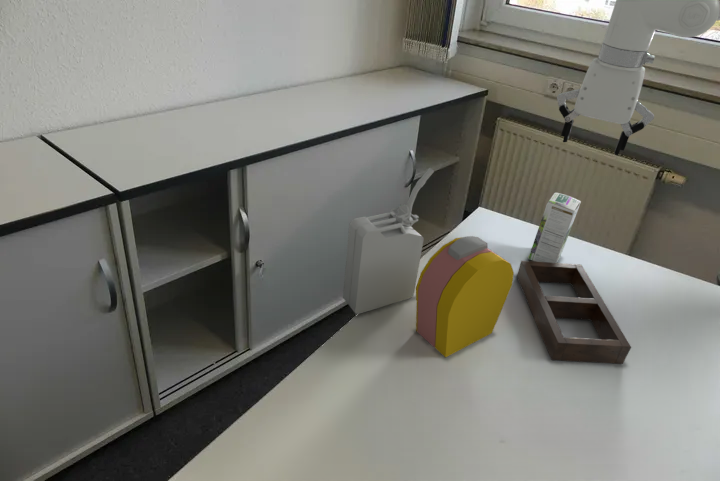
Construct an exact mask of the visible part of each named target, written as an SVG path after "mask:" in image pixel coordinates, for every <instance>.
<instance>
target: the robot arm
mask: <svg viewBox="0 0 720 481" xmlns="http://www.w3.org/2000/svg"><path fill="white" fill-rule="evenodd" d="M717 21H720V0H615V3H614V6H613V9H612V12H611V15H610V18H609V21H608V25H607V27H606V31H605V34H604V38H603V39H602V44H601V46H600V49H599V53H598V56H597V57H595V58H592V61H590V64H589V66H588V68H587V71H586V73H585V75H584V78H583V80H582V83H581V84H580V85H581V86H580V88H577V89H573V90H569V91H565V92H560V93H559V94H558V95H557V96H556V102H557V106H558V111H559V113H560V114H561V116H562V118H563V121H564V124H563V128H562V131H561V134H560V136H561V137H563V140H562V143H567V142H568V140H569V138H570V136H571V131H572V128H573V125H574V122H575V120H574V119H576V118H578V117H579V116H583V117H586V118H591V119H595V120H599V121H603V122H608V123H612V124H618V125H620V127H621V128H622V131H621V133H620V134H619V138H618V141H617V143H616V146H615V149H614V153H613V154H614V155H615V156H619V154H620V151H625V149H626V146H627V144H628V141H629V139H630V137H631V136H632V135H633V134H636V133H637V132H640V131H642V130H643V129H644V128H645V127H646V126H648V125H649V124H650V123H651V122H652V121H653V120H654V118H655V114H654V113H653V112H652V111H651V110H649V108H647V107H646V106H645V105H643V104H642V103H641V102H640V101H639V98H640V94H641V91H642V87H643V84H644V80H645V75H646V74H645V73H646V68H645V67H644V65H645V64H653V63H654V61H655V57H656V55H652V54H651V53H649V51H648V50H649V49H650V46H651V43H652V40H653V38H654V35H655V32H656V31H658V32H662V33H666V34H669V35H672V36H674V37H675V36H676V37H679V38H695V37H697V36H700V35H703V34H705V33H706V32H708V31H710V29H711V28H712V27H713V26H714V25H715V24H716V23H717ZM571 99H576V100H575V104H574V108H573V109H571V110H570V109H569V107H568V105H567V102H566V101H568V100H571ZM635 111H636V112H637V113H638V114H639V115H640V116H642V118H641V120H639V121H637V122H634V123H633V124H632V122H631V119H632V117H633V114H634V112H635Z"/></svg>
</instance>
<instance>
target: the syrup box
mask: <svg viewBox="0 0 720 481" xmlns="http://www.w3.org/2000/svg"><path fill="white" fill-rule="evenodd" d="M581 203H582V201H581V200H580V199H577V198H575V197H573V196H570V195H568V194H563V193H559V192H554V193H553V194H552V196H551V197H550V198H549V200H548V201H547V203H546V205H545V209H544V212H543V214H542V217H541V219H540V223H539V225H538V228H537V231H536V234H535V238H534V240H533V243H532V246H531V249H530V252H529V255H528V257H527V258H528V261H534V262H550V263H559V260H560V259H561V257H562V253H563V251H564V248H565V246H566V243H567V240H568V238H569V235H570V232H571V230H572V227H573V224H574V221H575V219H576V216H577V214H578V211H579V208H580V206H581Z"/></svg>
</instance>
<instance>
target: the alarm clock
mask: <svg viewBox="0 0 720 481" xmlns="http://www.w3.org/2000/svg"><path fill="white" fill-rule="evenodd" d="M488 245H489V244H488V242H486V241H485V240H483V239H482V238H481V237H479V236H475V235H468V236H467V235H466V236H461V237H455V238H454V239H452V240H450V241H448V242H447V243H444V244H443V245H442V246H441V247H439V249H438V250H437V251H436V252H435V253H434V254H433V255H431V257H429V260H428V261H427V262H426V264H425V266H424V267H423V268H422V270H421V272H420V274H419V277H418V280H417V282H416V285H415V301H416V309H415V311H416V312H415V320H416V321H415V331H416V332H417V334H419V335H420V336H421V337H422V338H423V339H424V340H426V341H427V343H429V344H430V345H431V346H432V347H433V348H435V350H437V352H439V353H440V354H441V355H442V356H444V358H447V357H449V356H452V355H453V354H456V353H458V352H459V351H461V350H463V349H465V348H467V347H468V346H470V345H472V344H475V343H476V342H478V341H480V340H482V339H484V338H486V337H488V336H489V335H491V334H492V333H493V332H494V329H495V327H496V324H497V322H498V320H499V318H500V315H501V312H502V310H503V309H504V306H505V303H506V301H507V298H508V297H509V294H510V292H511V289H512V286H513V281H514V274H515V272H514V269H513V266H512V263H511V262H510V261H507V260H506V259H504V257H502V256H500V255H498V254H497V253H495V252H494V251H493V250H492V249H489V248H488Z"/></svg>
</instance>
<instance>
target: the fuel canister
mask: <svg viewBox="0 0 720 481" xmlns="http://www.w3.org/2000/svg"><path fill="white" fill-rule="evenodd" d="M434 173H435V170H434V169H433V168H431V167H428V168H427V170H426V171H425V173H424V174H423V175H422V176H421V177H420V178H419V179H418V180H417V182H416V183H415V185H414V186H413V188H412V190H411V193H410V195H409V198H408V200H407V202H406V204H400V206H397V207H394V208H391V209H390V212H385V213H380V214H376V215H370V216H360V217H355V218H353V219H352V220H350V223H349V224H348V233H347V235H348V236H347V245H346V246H347V247H346V258H345V270H344V280H343V290H342V291H343V292H342V298H343V300H344V301H345V302H346V304H347V305H348V306H349V308H350V309H351V310H352V311H353V313H354V314H355V315H360V314H363V313H366V312H369V311H373V310H376V309H379V308H383V307H386V306H390V305H392V304H396V303H399V302H402V301H405V300H410V299H411V298H413V297H414V296H415V292H416V286H417V281H418V280H417V279H418V273H419V268H420V262H421V257H422V251H423V245H424V240H425V239H424V236H423V235H421V234H420V233H419V232H418V231H417V230H416V229H414V227H412V226H413V225H414V224H415V223H417V222H419V218H420V217H419V215H418V214H412V210H413V205H414V203H415V201H416V199H417V196H418V193H419V191H420V190H421V188H423V187H424V185H425V184H427V181H428V180H429V179H430V177H431V176H432V175H433V174H434ZM394 216H395V217H394Z"/></svg>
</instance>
